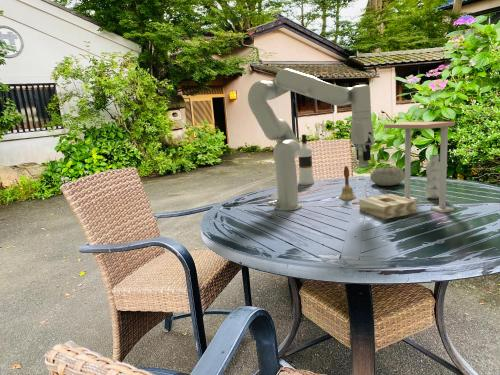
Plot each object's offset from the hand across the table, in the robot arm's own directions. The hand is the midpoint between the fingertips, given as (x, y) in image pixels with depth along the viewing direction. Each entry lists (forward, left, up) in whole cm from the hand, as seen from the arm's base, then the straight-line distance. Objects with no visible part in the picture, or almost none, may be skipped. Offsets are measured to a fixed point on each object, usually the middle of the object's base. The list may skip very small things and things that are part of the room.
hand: (363, 159), depth 154 cm
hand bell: (+6, +23, -22) cm, 33 cm away
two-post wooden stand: (+21, -7, -22) cm, 31 cm away
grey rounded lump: (+40, +36, -22) cm, 58 cm away
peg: (0, 0, -3) cm, 3 cm away
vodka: (+6, +67, -22) cm, 71 cm away
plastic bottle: (+36, -1, -22) cm, 42 cm away
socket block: (+6, -7, -22) cm, 24 cm away
